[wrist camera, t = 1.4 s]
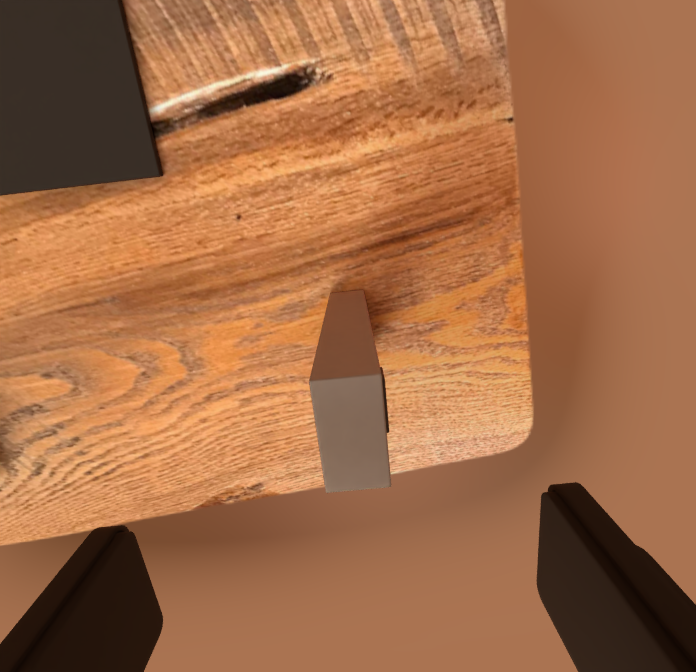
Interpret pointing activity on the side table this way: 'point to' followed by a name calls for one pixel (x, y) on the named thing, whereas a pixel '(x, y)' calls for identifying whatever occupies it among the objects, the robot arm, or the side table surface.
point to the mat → (70, 97)
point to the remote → (350, 398)
